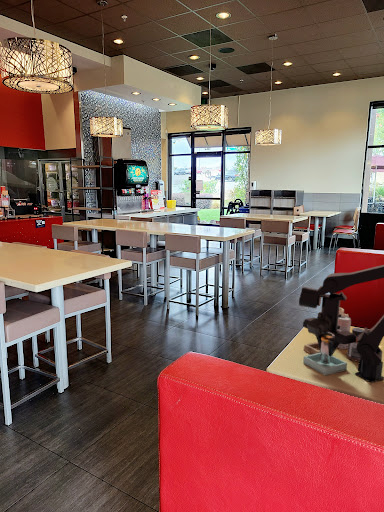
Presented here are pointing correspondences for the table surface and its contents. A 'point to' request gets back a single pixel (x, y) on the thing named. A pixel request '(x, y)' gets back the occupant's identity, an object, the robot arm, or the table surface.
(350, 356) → the supplement bottle
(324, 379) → the table surface
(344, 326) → the energy drink
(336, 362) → the tray
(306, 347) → the wooden square frame
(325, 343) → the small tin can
